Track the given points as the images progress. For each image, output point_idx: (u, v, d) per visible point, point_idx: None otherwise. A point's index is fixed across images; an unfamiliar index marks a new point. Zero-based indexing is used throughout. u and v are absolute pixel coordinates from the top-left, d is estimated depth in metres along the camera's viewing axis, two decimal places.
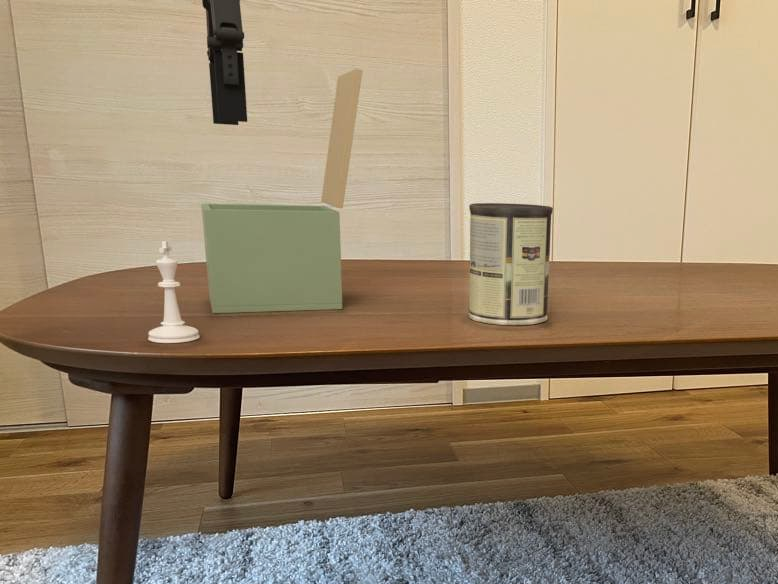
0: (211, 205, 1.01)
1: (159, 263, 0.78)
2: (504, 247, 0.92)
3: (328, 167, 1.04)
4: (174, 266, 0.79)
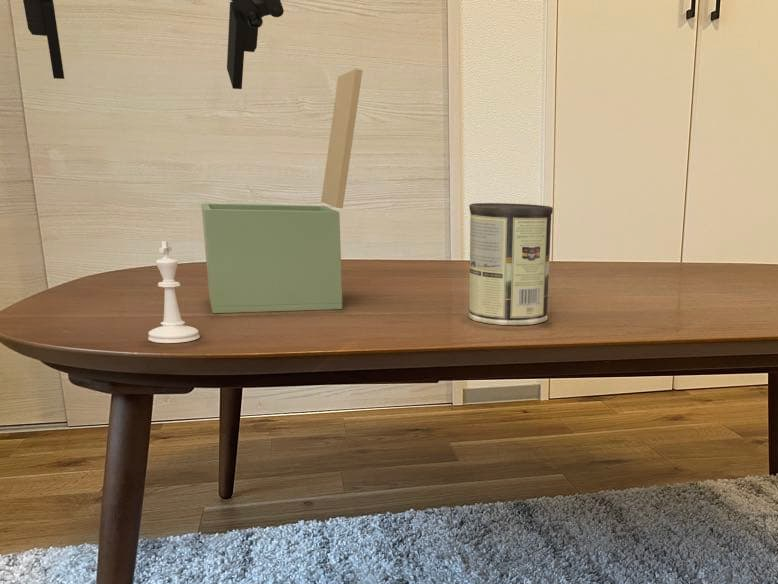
0: (211, 205, 1.01)
1: (159, 263, 0.78)
2: (504, 247, 0.92)
3: (328, 167, 1.04)
4: (174, 266, 0.79)
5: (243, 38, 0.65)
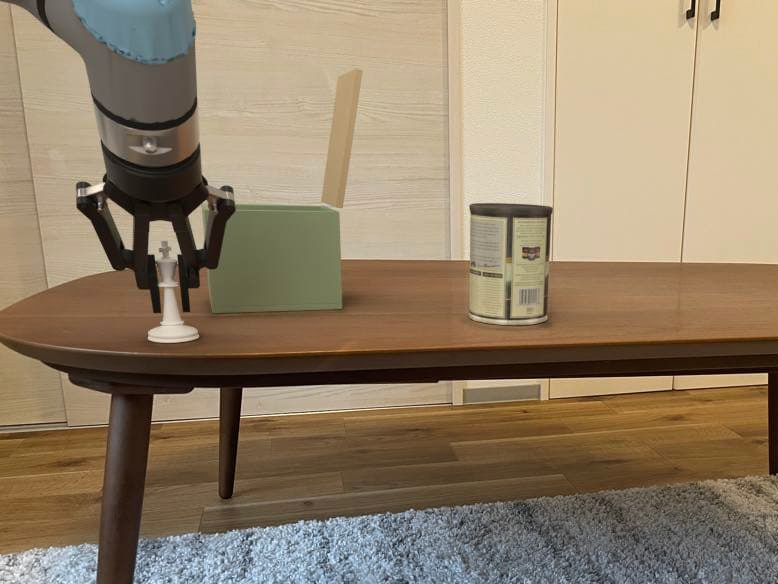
0: None
1: (159, 262, 0.78)
2: (504, 247, 0.92)
3: (328, 167, 1.04)
4: (173, 266, 0.79)
5: (186, 283, 0.80)
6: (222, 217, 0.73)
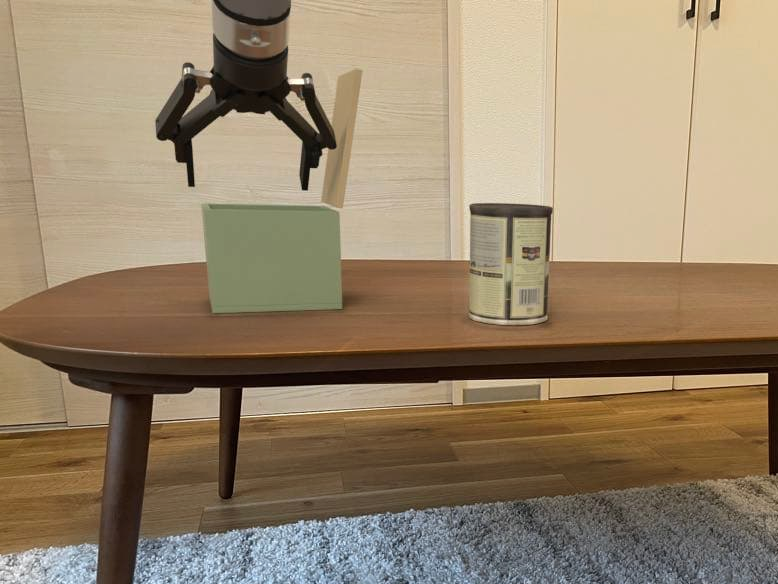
0: (211, 205, 1.01)
1: None
2: (504, 247, 0.92)
3: (328, 167, 1.04)
4: None
5: (309, 162, 0.97)
6: (309, 101, 0.89)
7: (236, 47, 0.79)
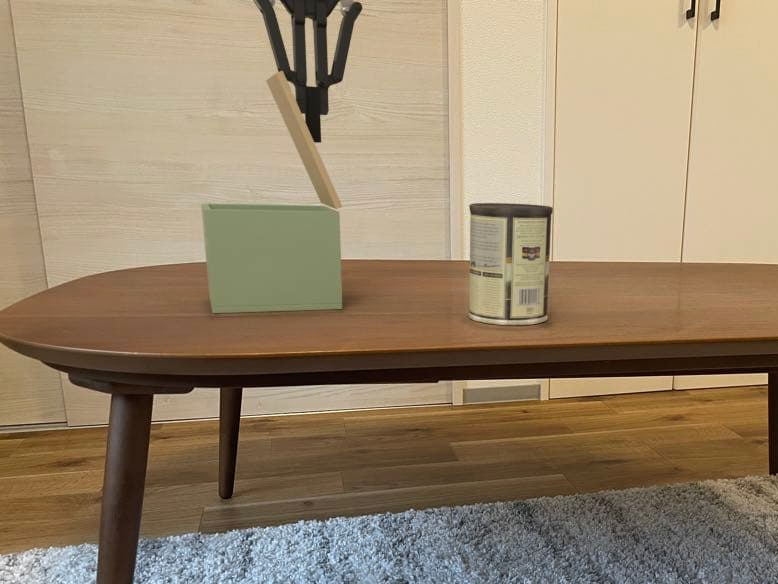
0: (211, 205, 1.01)
1: None
2: (504, 247, 0.92)
3: (308, 170, 1.03)
4: None
5: (318, 99, 0.96)
6: (351, 15, 0.95)
7: None
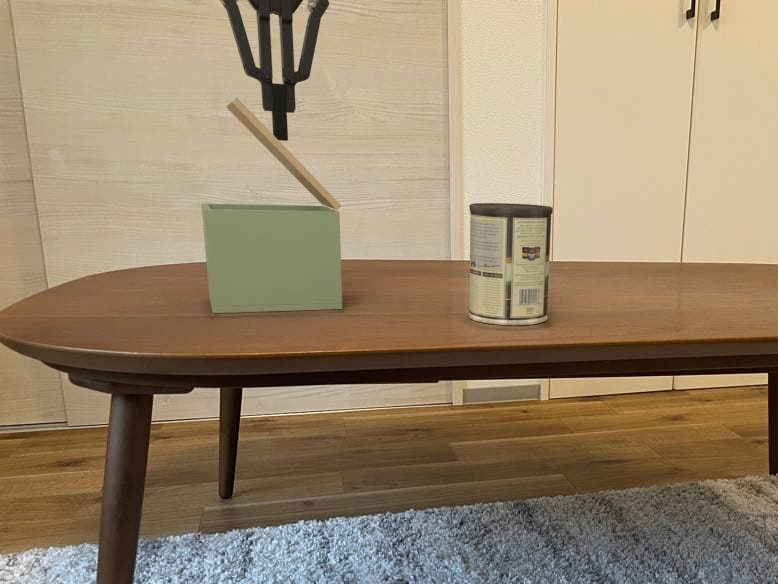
0: (211, 205, 1.01)
1: None
2: (504, 247, 0.92)
3: (298, 179, 1.03)
4: None
5: (284, 96, 0.95)
6: (318, 11, 0.94)
7: None
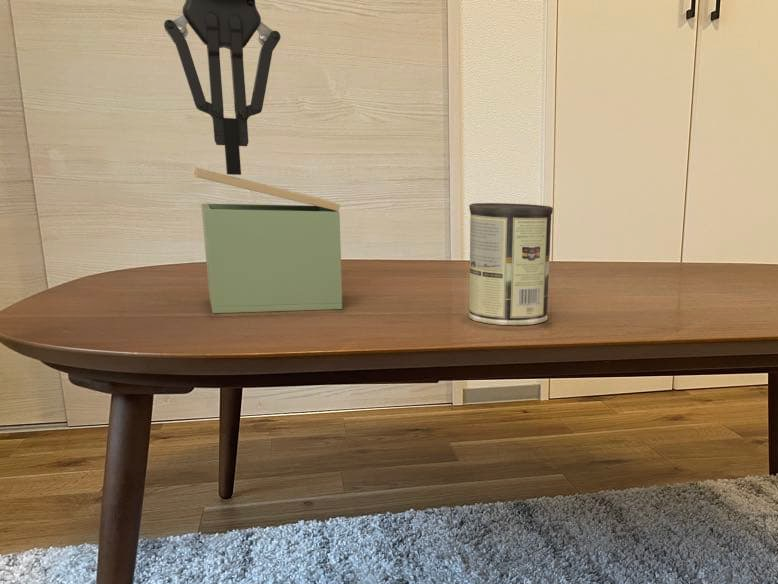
0: (211, 205, 1.01)
1: None
2: (504, 247, 0.92)
3: None
4: None
5: (236, 130, 0.94)
6: (269, 45, 0.93)
7: None
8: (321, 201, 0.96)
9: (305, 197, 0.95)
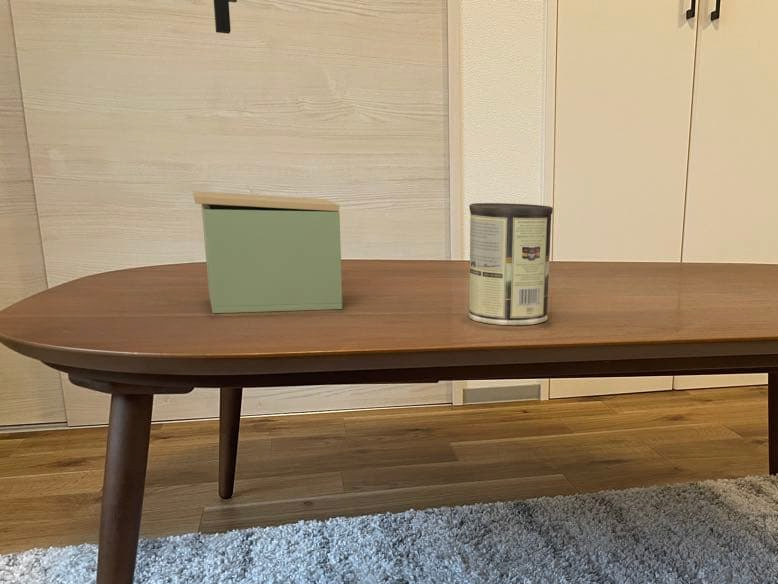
0: (211, 205, 1.01)
1: None
2: (504, 247, 0.92)
3: None
4: None
5: None
6: None
7: None
8: (320, 204, 0.96)
9: (304, 203, 0.95)
